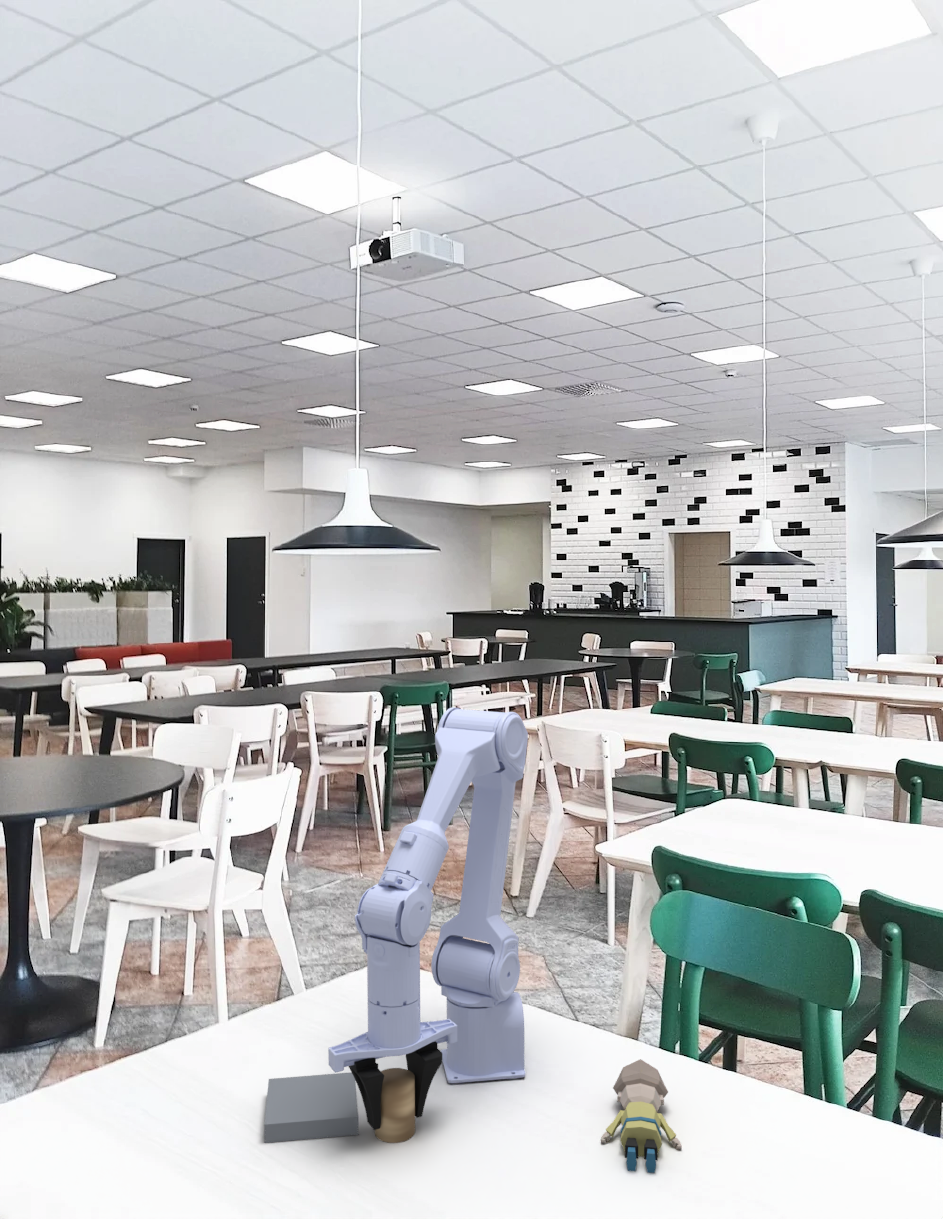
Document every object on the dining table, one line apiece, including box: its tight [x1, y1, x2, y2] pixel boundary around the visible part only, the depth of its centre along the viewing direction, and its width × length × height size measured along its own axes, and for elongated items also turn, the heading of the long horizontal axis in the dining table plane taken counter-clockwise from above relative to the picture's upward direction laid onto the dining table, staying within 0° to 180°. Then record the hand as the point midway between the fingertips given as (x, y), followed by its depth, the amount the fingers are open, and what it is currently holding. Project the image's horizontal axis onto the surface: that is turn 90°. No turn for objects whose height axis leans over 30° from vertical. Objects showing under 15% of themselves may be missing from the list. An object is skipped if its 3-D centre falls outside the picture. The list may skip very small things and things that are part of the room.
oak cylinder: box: [374, 1067, 416, 1144], centre depth 112 cm, size 4×4×6 cm
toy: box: [600, 1059, 682, 1174], centre depth 111 cm, size 8×5×15 cm
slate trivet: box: [263, 1071, 359, 1144], centre depth 115 cm, size 10×10×2 cm
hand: (395, 1118), depth 112 cm, fingers closed on oak cylinder, 4 cm apart
